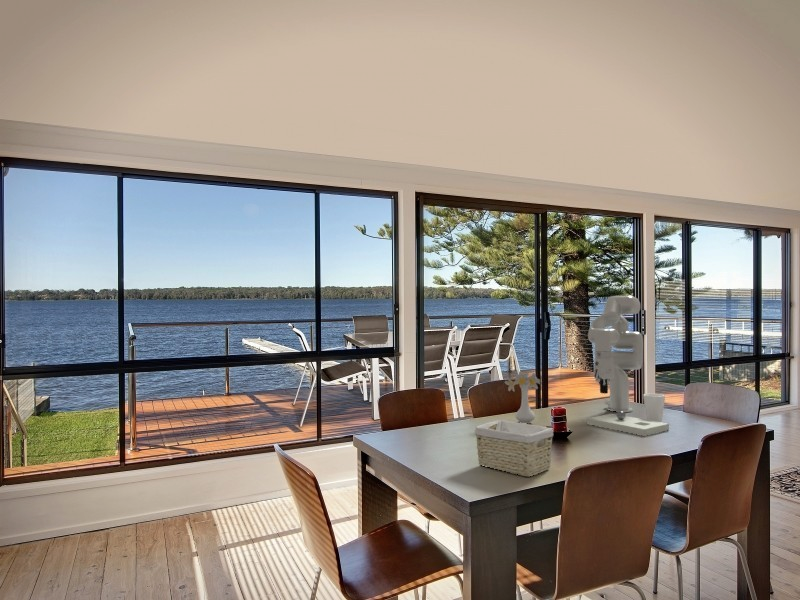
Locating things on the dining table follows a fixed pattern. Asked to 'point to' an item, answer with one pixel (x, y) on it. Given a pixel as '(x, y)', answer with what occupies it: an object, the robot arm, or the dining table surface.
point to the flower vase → (524, 395)
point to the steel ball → (621, 415)
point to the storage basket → (514, 447)
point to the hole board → (628, 424)
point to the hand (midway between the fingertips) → (604, 393)
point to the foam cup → (654, 406)
